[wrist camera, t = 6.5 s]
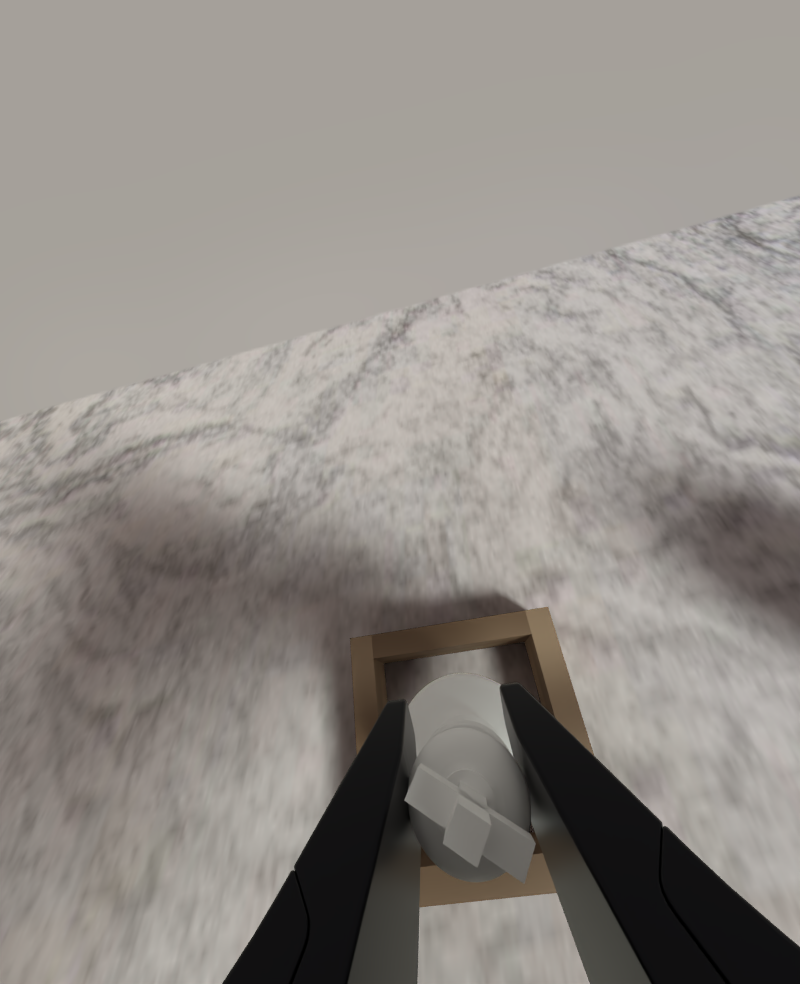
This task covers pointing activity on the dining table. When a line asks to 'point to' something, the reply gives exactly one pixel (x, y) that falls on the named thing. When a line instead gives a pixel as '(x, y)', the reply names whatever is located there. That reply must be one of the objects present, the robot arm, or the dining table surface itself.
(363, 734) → the socket frame
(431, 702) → the chess piece
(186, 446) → the dining table surface
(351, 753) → the dining table surface
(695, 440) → the dining table surface
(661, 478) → the dining table surface
